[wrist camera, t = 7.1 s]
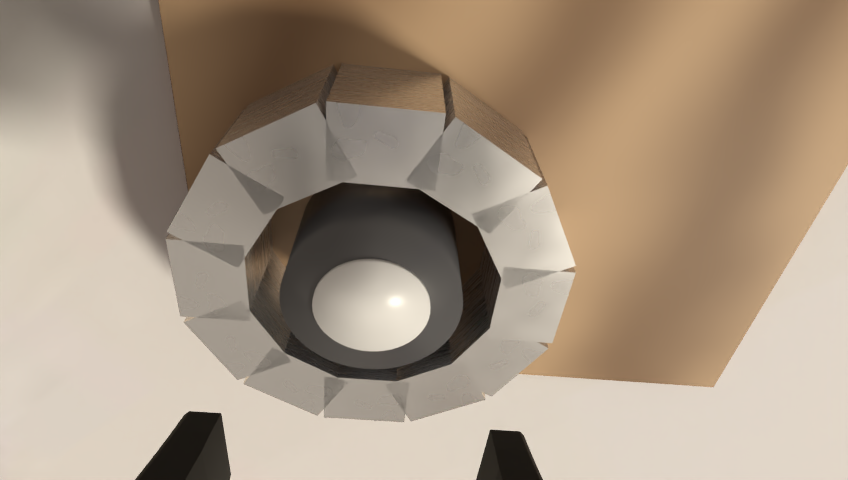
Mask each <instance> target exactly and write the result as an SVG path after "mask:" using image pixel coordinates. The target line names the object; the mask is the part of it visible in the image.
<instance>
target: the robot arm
mask: <svg viewBox="0 0 848 480" xmlns="http://www.w3.org/2000/svg"><path fill="white" fill-rule="evenodd" d="M230 476H231V472H230V466H229V460H228V453H227V447H226V441H225V435H224V428H223V422H222V416H221V413H207V412H191V411H189V412H188V413H186V414H185V415H184V416H183V418H182V419H181V420H180V422H179V423H178V424H177V426H176V427H175V429H174V430H173V431H172V433H171V434H170V435H169V437H168V438H167V439H166V441H165V442H164V443H163V445H162V446H161V447H160V449H159V450H158V451H157V453H156V454H155V455H154V456H153V458H152V459H151V460H150V462H149V463H148V464H147V465H146V467H145V468H144V469H143V470H142V472H141V473H140V474H139V476H138V477H137V478H136V479H135V480H230ZM476 480H543V479H542V477H541V475H540V473H539V470H538V468H537V466H536V464H535V461H534V459H533V457H532V454H531V452H530V450H529V447H528V445H527V442H526V440H525V437H524V435H523V434H522V433H521V432H519V431H502V430H490V432H489V436H488V440H487V443H486V447H485V450H484V454H483V457H482V461H481V465H480V468H479V472H478V475H477V479H476Z"/></svg>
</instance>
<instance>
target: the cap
mask: <svg viewBox="0 0 848 480" xmlns="http://www.w3.org/2000/svg"><path fill="white" fill-rule="evenodd" d="M279 301H280V307H281V311H282V314H283V317H284V320H285V322H286V324H287V325H288V327H289V329H290V330H291V331H292V333H293V334H294V335H295V336H296V337H297V339H298V340H299V341H300V342H301V343H303V344H304V345H305V346H306V347H307V348H309V349H310V350H312V351H313V352H315V353H316V354H318V355H320V356H322V357H324V358H326V359H328V360H330V361H333V362H335V363H338V364H342V365H345V366H350V367H355V368H363V369H387V368H394V367H400V366H404V365H407V364H411V363H414V362H416V361H419V360H421V359H423V358H425V357H427V356H429V355H430V354H432V353H433V352H435V351H436V350H438V349H439V348H440V347H441V346H442V345H444V344H445V343H446V341H447V340H448V339H449V338H450V337H451V336H452V334H453V333H454V331H455V330H456V328H457V326H458V323H459V321H460V318H461V315H462V310H463V293H462V285H461V277H460V268H459V260H458V252H457V243H456V235H455V226H454V221H453V217H452V214H451V212H450V209H449V208H448V207H446V206H445V205H443V204H441V203H440V202H438V201H437V200H435V199H434V198H432V197H430V196H429V195H427V194H426V193H424V192H423V191H421V190H419V189H412V188H401V187H390V186H379V185H368V184H357V183H346V182H342V183H339V184H337V185H335V186H332V187H330V188H327V189H325V190H322V191H320V192H318V193H315V194H313V196H312V197H311V198H310V200H309V202H308V204H307V206H306V208H305V211H304V214H303V217H302V220H301V223H300V226H299V229H298V232H297V235H296V238H295V241H294V244H293V247H292V250H291V254H290V257H289V260H288V263H287V266H286V269H285V272H284V275H283V278H282V281H281V286H280V294H279Z"/></svg>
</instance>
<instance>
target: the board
mask: <svg viewBox="0 0 848 480" xmlns="http://www.w3.org/2000/svg"><path fill="white" fill-rule="evenodd" d="M158 1H159V8H160V14H161V21H162V27H163V33H164V40H165V46H166V53H167V59H168V65H169V72H170V78H171V85H172V91H173V97H174V104H175V110H176V117H177V123H178V129H179V136H180V142H181V149H182V155H183V161H184V168H185V174H186V181H187V187H188V192H189V190H190V188H191V186H192V185H193V183H194V181H195V179H196V177H197V176H198V174H199V172H200V170H201V168H202V167H203V165H204V163H205V161H206V159H207V157H208V156H209V154H210V153H211V151H212V150H213V149H214V147H215V146H216V145H217V143H218V142H219V141H220V140H221V138H222V137H223V136H224V134H225V133H226V132H227V130H228V129H229V128H230V126H231V125H232V124H233V122H234V121H235V120H236V119H237V117H238V116H239V115H240V113H241V112H242V111H243V109H244V110H245V109H246V108H247V106H248V105H249V104H250V103H253V102H255V101H257V100H259V99H261V98H263V97H265V96H267V95H270V94H272V93H274V92H276V91H278V90H280V89H282V88H285V87H287V86H289V85H291V84H293V83H295V82H297V81H299V80H302V79H304V78H306V77H308V76H310V75H312V74H314V73H316V72H319V71H321V70H323V69H325V68H327V67H329V66H331V65H334V67H335V69H336V70H337V72H339V69H340V67H341V64H342V63H345V64H355V65H364V66H374V67H383V68H392V69H402V70H411V71H421V72H430V73H440V74H441V76H442V85H443V84H444V83H445V82H446V80H447V79H448V78H449V77H450V78H452V79H453V80H454V81H456V82H457V83H458V84H460V85H461V86H462V87H464V88H465V89H466V90H468V91H469V92H470V93H472V94H473V95H474V96H476V97H477V98H478V99H480V100H481V101H483V102H484V103H485V104H487V105H488V106H489V107H491V108H492V109H493V110H495V111H496V112H497V113H499V114H500V115H501V116H503V117H504V118H505V119H507V120H508V121H509V122H511V123H512V124H514V125H515V126H516V127H518V128H519V129H520V130H522V131H523V133H524V136H525V138H526V137H527V138H528V141H529V143H530V145H531V148H532V150H533V152H534V155H535V157H536V160H537V162H538V164H539V167H540V169H541V171H542V174H543V176H544V178H545V181H546V183H547V186H548V188H549V191H550V194H551V197H552V200H553V202H554V205H555V208H556V211H557V214H558V217H559V219H560V222H561V225H562V228H563V231H564V234H565V236H566V239H567V242H568V245H569V248H570V251H571V253H572V256H573V259H574V262H575V265H576V266H574V269H575V272H576V274H575V277H574V280H573V283H572V286H571V289H570V292H569V295H568V298H567V301H566V304H565V307H564V310H563V313H562V316H561V319H560V322H559V325H558V328H557V331H556V334H555V337H554V340H553V343H547V345H548V349H547V350H546V351H545V352H544V353H543V354H541V355H540V356H539V357H538V358H537V359H535V360H534V361H533V362H532V363H531V364H529V365H528V366H527V367H526V368H525V369H524V370H522V371H521V372H520V373H519V374H529V375H543V376H558V377H573V378H587V379H602V380H616V381H631V382H646V383H660V384H675V385H689V386H704V387H714V385H715V384H716V382H717V380H718V379H719V377H720V375H721V374H722V372H723V370H724V369H725V367H726V365H727V364H728V362H729V360H730V359H731V357H732V355H733V354H734V352H735V350H736V349H737V347H738V345H739V344H740V342H741V341H742V339H743V337H744V336H745V334H746V332H747V331H748V329H749V327H750V326H751V324H752V322H753V321H754V319H755V317H756V316H757V314H758V312H759V311H760V309H761V307H762V306H763V304H764V302H765V301H766V299H767V297H768V296H769V294H770V292H771V291H772V289H773V288H774V286H775V284H776V283H777V281H778V279H779V278H780V276H781V274H782V273H783V271H784V269H785V268H786V266H787V264H788V263H789V261H790V259H791V258H792V256H793V254H794V253H795V251H796V249H797V248H798V246H799V244H800V243H801V241H802V239H803V238H804V236H805V235H806V233H807V231H808V230H809V228H810V226H811V225H812V223H813V221H814V220H815V218H816V216H817V215H818V213H819V211H820V210H821V208H822V206H823V205H824V203H825V201H826V200H827V198H828V196H829V195H830V193H831V191H832V190H833V188H834V186H835V185H836V183H837V182H838V180H839V178H840V177H841V175H842V173H843V172H844V170H845V168H846V167H847V165H848V0H158ZM312 196H313V195H310V196H308V197H305V198H303V199H301V200H298V201H296V202H293V203H291V204H289V205H286V206H284V207H281V208H279V209H277V210H276V212H275V213H274V215H273V216H272V218H271V225H272V242H273V251H274V253H275V254H276V255H277V257H278V258H279V260H280V261H281V262H282V264H283V265H284V266H285V268H286V266H287V263H288V260H289V257H290V254H291V250H292V247H293V244H294V241H295V238H296V235H297V232H298V229H299V226H300V223H301V220H302V217H303V214H304V211H305V208H306V206H307V204H308V202H309V200H310V198H311V197H312ZM450 212H451V214H452V217H453V221H454V226H455V235H456V243H457V252H458V260H459V268H460V277H461V285H463V284H464V283H465V282H466V281H467V280H468V279H469V278H470V277H471V276H472V275H473V274H474V273H475V272H476V271H477V270H478V269H479V268H480V265H481V260H482V255H483V250H484V246H485V242H484V240H483V237H482V235H481V233H480V231H479V229H478V227H477V226H476V225H474V224H473V223H471V222H470V221H468V220H466V219H465V218H463V217H462V216H460V215H459V214H457V213H456V212H454V211H452V210H451V209H450Z"/></svg>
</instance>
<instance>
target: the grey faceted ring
mask: <svg viewBox="0 0 848 480" xmlns="http://www.w3.org/2000/svg"><path fill="white" fill-rule="evenodd" d="M342 182H346V183H357V184H368V185H379V186H390V187H401V188H412V189H419V190H421V191H423V192H424V193H426V194H427V195H429V196H430V197H432V198H434V199H435V200H437V201H438V202H440V203H441V204H443V205H445V206H446V207H448V208H449V209H451V210H452V211H454V212H456V213H457V214H459V215H460V216H462V217H463V218H465V219H466V220H468V221H470V222H471V223H473V224H474V225H476V226H477V227H478V229H479V231H480V233H481V235H482V237H483V240H484V242H485V246H484V250H483V255H482V260H481V265H480V268H479V269H478V270H477V271H476V272H475V273H474V274H473V275H472V276H471V277H470V278H469V279H468V280H467V281H466V282H465V283H464V284H463V285H462V293H463V310H462V315H461V318H460V321H459V323H458V326H457V328H456V330H455V331H454V333H453V334H452V336H451V337H450V338H449V339H448V340H447V341H446V343H445V344H444V345H442V346H441V347H440V348H439V349H438V350H436V351H435V352H433V353H432V354H430V355H429V356H427V357H425V358H423V359H421V360H419V361H416V362H414V363H411V364H407V365H404V366H400V367H394V368H387V369H363V368H355V367H350V366H345V365H342V364H338V363H335V362H333V361H330V360H328V359H326V358H324V357H322V356H320V355H318V354H316V353H315V352H313V351H312V350H310V349H309V348H307V347H306V346H305V345H304V344H303V343H301V342H300V341H299V340H298V339H297V337H296V336H295V335H294V334H293V333H292V331H291V330H290V329H289V327H288V325H287V324H286V322H285V320H284V317H283V314H282V311H281V307H280V301H279V294H280V286H281V281H282V278H283V275H284V272H285V269H286V268H285V266H284V265H283V264H282V262H281V261H280V260H279V258H278V257H277V255H276V254H275V253H274V251H273V242H272V225H271V218H272V216H273V215H274V213H275V212H276V210H277V209H279V208H281V207H284V206H286V205H289V204H291V203H293V202H296V201H298V200H301V199H303V198H305V197H308V196H310V195H313V194H315V193H318V192H320V191H322V190H325V189H327V188H330V187H332V186H335V185H337V184H339V183H342ZM167 232H168V233H169V235H168V236H167V237H166V239H165V240H166V245H167V250H168V255H169V260H170V266H171V271H172V276H173V281H174V286H175V291H176V296H177V302H178V307H179V312H180V316H184V317H186V319H185V321H184V323H185V324H186V325H187V326H188V327H189V329H190V330H191V331H192V332H193V333H194V334H195V335H196V336H197V337H198V338H199V339H200V340H201V341H202V342H203V343H204V345H205V346H206V347H207V348H208V349H209V350H210V351H211V352H212V353H213V354H214V355H215V356H216V357H217V358H218V360H219V361H220V362H221V363H222V364H223V365H224V366H225V367H226V368H227V369H228V370H229V371H230V372H231V373H232V374H233V376H234V377H235V378H236V379H237V380H239V379H242V378H245V377H246V378H245V381H244V384H245V385H247V386H250V387H252V388H254V389H257V390H259V391H261V392H263V393H266V394H268V395H270V396H273V397H275V398H277V399H280V400H282V401H284V402H287V403H289V404H291V405H294V406H296V407H298V408H301V409H303V410H305V411H308V412H310V413H312V414H315V415H318V414H319V413H320V412H321V411H322V410H323V409H324V417H329V418H345V419H361V420H378V421H394V422H404V418H405V414H406V415H407V417H408V418H409V419H410V421H414V420H417V419H421V418H424V417H428V416H431V415H434V414H438V413H441V412H445V411H448V410H451V409H455V408H458V407H462V406H465V405H469V404H472V403H475V402H479V401H482V400H485V394H487V395H489V396H493V395H494V394H495V393H496V392H497V391H499V390H500V389H501V388H502V387H503V386H504V385H506V384H507V383H508V382H509V381H510V380H512V379H513V378H514V377H515V376H516V375H518V374H519V373H520V372H521V371H522V370H524V369H525V368H526V367H527V366H528V365H529V364H531V363H532V362H533V361H534V360H535V359H537V358H538V357H539V356H540V355H541V354H543V353H544V352H545V351H546V350H547V349H548V345H547V343H553V340H554V337H555V334H556V331H557V328H558V325H559V322H560V319H561V316H562V313H563V310H564V307H565V304H566V301H567V298H568V295H569V292H570V289H571V286H572V283H573V280H574V277H575V274H576V272H575V269H574V266H576V265H575V262H574V259H573V256H572V253H571V251H570V248H569V245H568V242H567V239H566V236H565V234H564V231H563V228H562V225H561V222H560V219H559V217H558V214H557V211H556V208H555V205H554V202H553V200H552V197H551V194H550V191H549V188H548V186H547V183H546V181H545V178H544V176H543V174H542V171H541V169H540V167H539V164H538V162H537V160H536V157H535V155H534V152H533V150H532V148H531V145H530V143H529V141H528V138H527V137H526V138H525V136H524V133H523V131H522V130H520V129H519V128H518V127H516V126H515V125H514V124H512V123H511V122H509V121H508V120H507V119H505V118H504V117H503V116H501V115H500V114H499V113H497V112H496V111H495V110H493V109H492V108H491V107H489V106H488V105H487V104H485V103H484V102H483V101H481V100H480V99H478V98H477V97H476V96H474V95H473V94H472V93H470V92H469V91H468V90H466V89H465V88H464V87H462V86H461V85H460V84H458V83H457V82H456V81H454V80H453V79H452V78H450V77H449V78H448V79H447V80H446V82H445V83H444V84H443V85H442V76H441V74H440V73H430V72H421V71H411V70H402V69H392V68H383V67H374V66H364V65H355V64H345V63H342V64H341V67H340V69H339V72H337V70H336V69H335V67H334V65H331V66H329V67H327V68H325V69H323V70H321V71H319V72H316V73H314V74H312V75H310V76H308V77H306V78H304V79H302V80H299V81H297V82H295V83H293V84H291V85H289V86H287V87H285V88H282V89H280V90H278V91H276V92H274V93H272V94H270V95H267V96H265V97H263V98H261V99H259V100H257V101H255V102H253V103H250V104H249V105H248V106H247V108H246V109H245V110H244V109H243V111H242V112H241V113H240V115H239V116H238V117H237V119H236V120H235V121H234V122H233V124H232V125H231V126H230V128H229V129H228V130H227V132H226V133H225V134H224V136H223V137H222V138H221V140H220V141H219V142H218V143H217V145H216V146H215V147H214V149H213V150H212V151H211V153H210V154H209V156H208V157H207V159H206V161H205V163H204V165H203V167H202V168H201V170H200V172H199V174H198V176H197V177H196V179H195V181H194V183H193V185H192V186H191V188H190V190H189V192H188V194H187V196H186V197H185V199H184V201H183V203H182V205H181V206H180V208H179V210H178V212H177V214H176V215H175V217H174V219H173V221H172V223H171V224H170V226H169V228H168V230H167Z"/></svg>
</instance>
